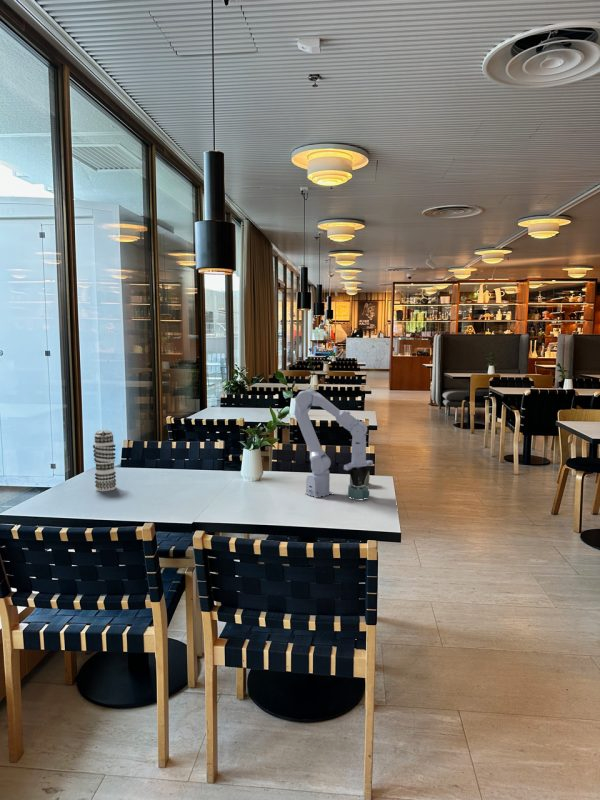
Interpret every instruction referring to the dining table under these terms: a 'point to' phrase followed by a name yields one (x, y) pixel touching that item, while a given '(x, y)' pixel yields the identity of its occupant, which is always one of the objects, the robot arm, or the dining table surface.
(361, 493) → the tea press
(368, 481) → the ceramic mug
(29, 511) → the dining table surface
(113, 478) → the white tiered cylinder
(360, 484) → the black and white knob
